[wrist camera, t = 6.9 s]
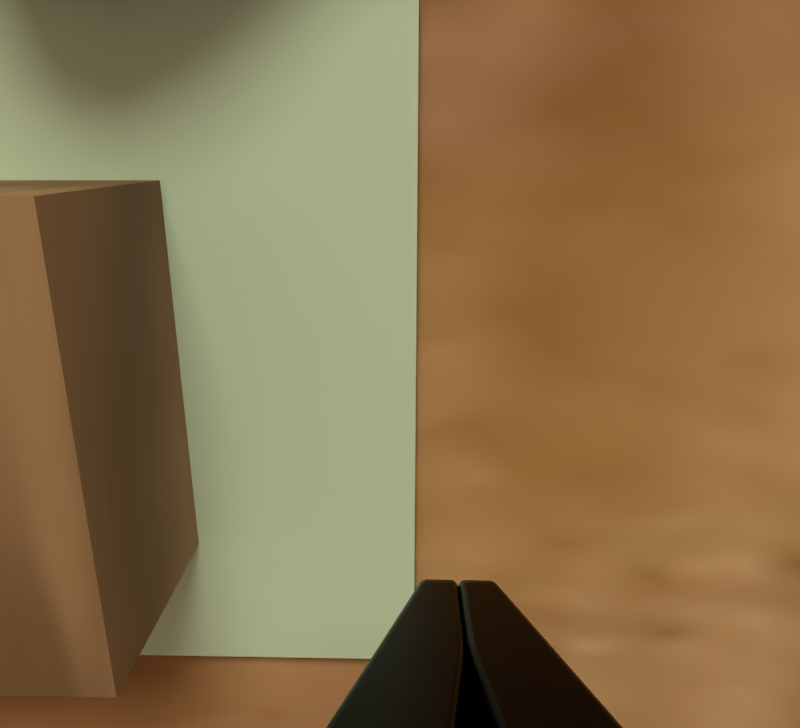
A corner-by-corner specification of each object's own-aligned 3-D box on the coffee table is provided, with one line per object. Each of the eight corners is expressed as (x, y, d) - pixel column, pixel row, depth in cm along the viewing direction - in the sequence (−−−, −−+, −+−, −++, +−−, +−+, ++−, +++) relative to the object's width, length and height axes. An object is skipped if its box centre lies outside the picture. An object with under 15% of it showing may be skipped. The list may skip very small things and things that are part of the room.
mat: (418, -1, 13) (419, -4, 13) (413, 651, 18) (413, 659, 18) (-454, 2, 14) (-473, 0, 13) (-229, 641, 19) (-239, 648, 18)
